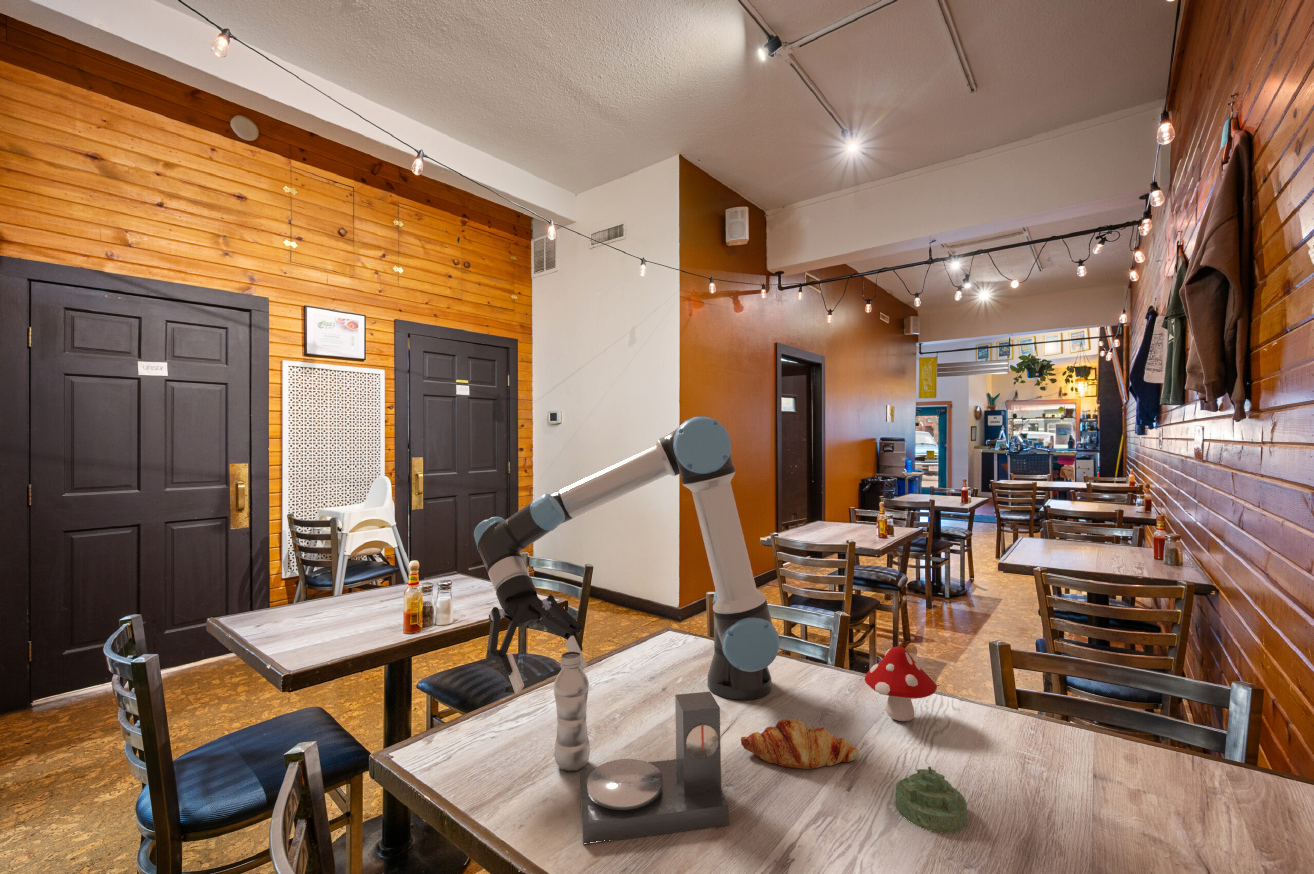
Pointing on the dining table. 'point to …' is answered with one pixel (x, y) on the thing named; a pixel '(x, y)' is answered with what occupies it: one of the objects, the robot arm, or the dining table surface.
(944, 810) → the decorative artifact
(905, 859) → the dining table surface
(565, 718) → the plastic bottle
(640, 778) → the scale pan
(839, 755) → the croissant
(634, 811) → the scale
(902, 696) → the decorative mushroom
